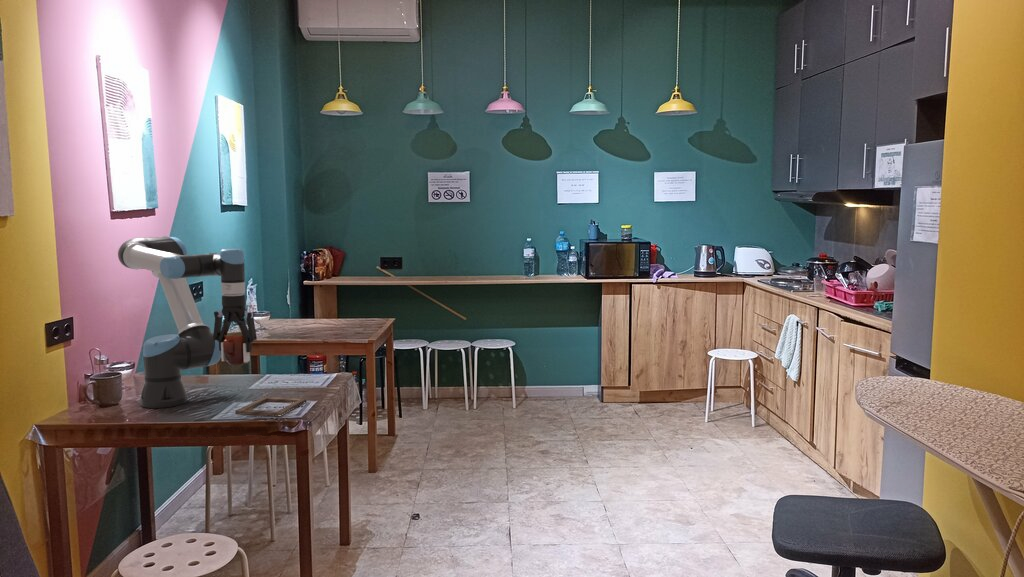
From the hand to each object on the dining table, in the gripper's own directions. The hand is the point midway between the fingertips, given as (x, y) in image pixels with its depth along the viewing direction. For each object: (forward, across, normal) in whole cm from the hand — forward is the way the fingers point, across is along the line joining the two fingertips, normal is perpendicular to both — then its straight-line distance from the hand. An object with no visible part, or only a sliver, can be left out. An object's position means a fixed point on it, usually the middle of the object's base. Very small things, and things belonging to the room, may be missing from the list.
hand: (235, 361), depth 257 cm
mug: (+1, 0, 0) cm, 1 cm away
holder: (+16, +12, +1) cm, 20 cm away
